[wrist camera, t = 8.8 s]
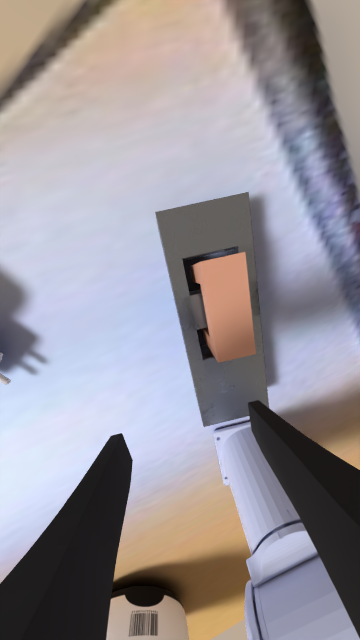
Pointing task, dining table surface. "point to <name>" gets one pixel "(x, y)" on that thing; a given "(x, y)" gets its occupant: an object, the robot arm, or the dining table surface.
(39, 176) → the dining table surface
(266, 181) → the dining table surface
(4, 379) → the charger
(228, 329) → the orange u-shaped block
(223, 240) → the gray rectangular frame
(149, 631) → the milk container
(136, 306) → the dining table surface
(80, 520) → the robot arm
